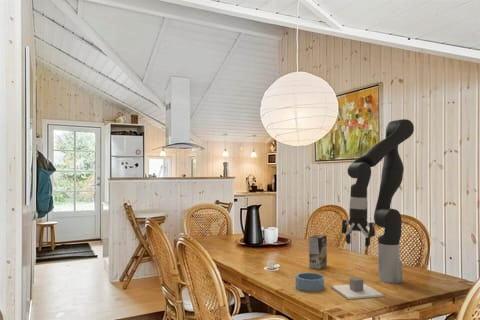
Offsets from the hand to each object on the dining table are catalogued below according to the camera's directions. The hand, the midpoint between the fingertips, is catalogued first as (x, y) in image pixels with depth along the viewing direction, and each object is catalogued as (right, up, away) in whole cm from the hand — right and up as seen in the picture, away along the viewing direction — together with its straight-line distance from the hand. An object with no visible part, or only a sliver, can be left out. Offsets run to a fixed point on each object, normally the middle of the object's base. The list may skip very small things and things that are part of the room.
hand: (357, 244), depth 164 cm
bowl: (-21, -18, -1) cm, 28 cm away
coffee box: (-10, -20, +35) cm, 41 cm away
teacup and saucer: (-33, -20, +30) cm, 49 cm away
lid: (-3, -18, -9) cm, 20 cm away
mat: (-3, -18, -9) cm, 20 cm away
